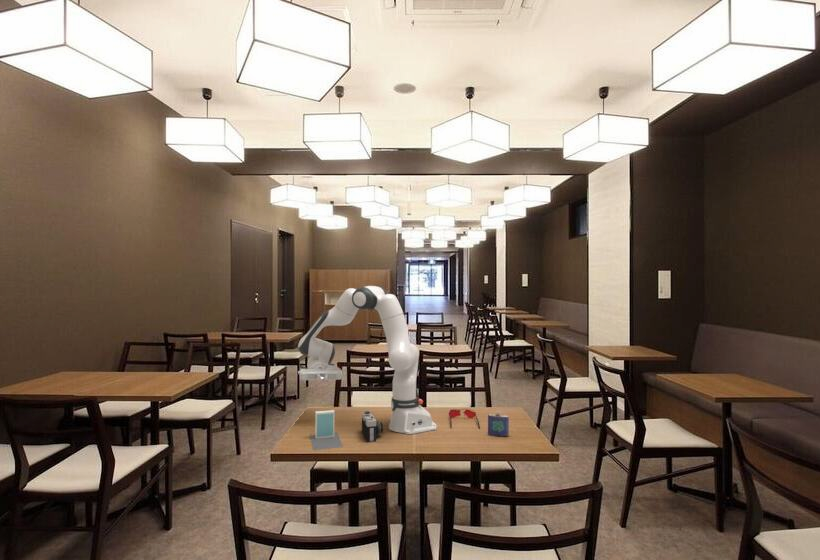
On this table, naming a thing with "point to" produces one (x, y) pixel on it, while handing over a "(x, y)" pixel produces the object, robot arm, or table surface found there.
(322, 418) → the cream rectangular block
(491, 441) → the table surface
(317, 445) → the mat
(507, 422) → the flask
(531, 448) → the table surface
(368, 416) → the camera
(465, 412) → the glasses
